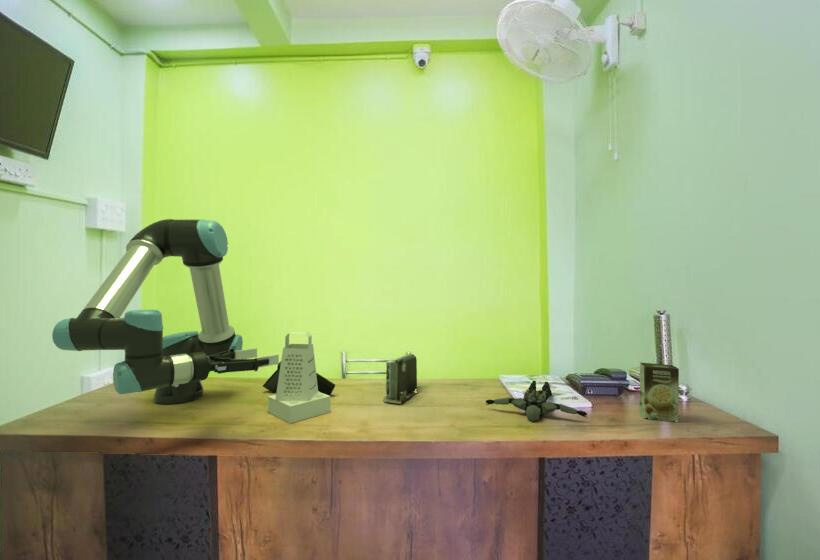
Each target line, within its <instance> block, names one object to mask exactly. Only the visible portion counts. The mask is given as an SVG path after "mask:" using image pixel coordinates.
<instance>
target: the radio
mask: <svg viewBox="0 0 820 560" xmlns="http://www.w3.org/2000/svg"><path fill="white" fill-rule="evenodd" d="M417 360H418V359H417V356H416V355H414V353H408V354H405V355H402V356H399V357H396V358H392V359H390V360H387V361H386V363H385V364H386V370H385V372H386V377H385V378H386V381H385V382H386V384H385V387H386V388H385V390H386V396H384V397H383V399H382V401H383V403H390V404H398V405H399V404H400V405H401V404H403V403H405V402H406V401H408V400H409V399H411V398H412V397H414V396H415V395H417V393H415V392H414V391H415V389H417V388H418V387H417V386H418V368H417V366H418V365H417V364H418V363H417V362H418V361H417ZM417 390H418V389H417Z"/></svg>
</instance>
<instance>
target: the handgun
mask: <svg viewBox="0 0 820 560" xmlns="http://www.w3.org/2000/svg"><path fill="white" fill-rule="evenodd" d="M286 360H287V359H286ZM286 360H285V361H286ZM280 366H281V360H280V361H279V364H277V369H276V370H275V371H274V372H273V374H272V375H271V376H270V377H269V378H268V379H267V380H266V381H265V382H264V384H263V385H262V387H263V388H264V389H266V390H268V391H269V392H270V393H272V394H276V392H277V386H278V379H279V372H280ZM316 376H317V385H318V392H321V393H323V394H326V395H329V396H331V395H332V393H333V391H334V389H335V387H336V384H335V383H334V382H332V381H331V380H329V379H328V378H326V377H324V376H323V375H320V374H319V373H318V372H316Z"/></svg>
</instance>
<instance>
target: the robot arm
mask: <svg viewBox="0 0 820 560" xmlns="http://www.w3.org/2000/svg"><path fill="white" fill-rule="evenodd" d="M228 245H229V242H228V237H227V233H226V231H225V228H224V227H223V226H222V225H221V223H220V222H218V221H216V220H209V219H202V218H201V219H173V218H166V219H161V220H158V221H155V222H153V223H151V224H148V225H147V226H145V227H143V229H141V230H140V231H138V232H137V233H135V234H134V236H133V237H132V238H131V239H130V240H129V242H128V243H127V244H126V246H125V251H126V252H125V253H124V255H123V256H122V258H121V259H120V260H119V261H118V263H117V264H116V266H114V268H113V269H112V270H111V272H110V273H109V275H108V276H107V277H106V279H105V280H104V281H103V282H102V284H101V285H100V286H99V288H98V289H97V290H96V292H94V294H93V295H92V297H91V298H90V300H89V301H88V303H86V305H85V306H84V308H83V309H82V310H81V311H80V313H79V314H78V315H77V317H70V318H64V319H62V320H60V321H58V322H57V323H56V324H55V325H54V327H53V330H52V333H51V334H52V335H51V337H52V342H53V344H54V345H55V346H56V347H57V348H58V349H60V350H63V351H75V352H83V351H114V350H115V351H123V350H124V360H123V361H120V362H116V363H115V364H114V366H113V373H112V374H113V375H112V381H113V386H114V390H115V392H116V393H117V394H119V395H125V394H126V395H127V394H133V393H142V392H148V391H151V390H155V392H154V394H153V395H154V396H153V402H154V404H158V405H159V404H161V405H174V404H182V403H183V404H184V403H187V402H191V401H195V400H198V399H200V398H202V397H203V396H204V386H203V384H202V382H201V381H205V380H206V379H208V378H209V374H210V372H214V373H217V374H220V375H221V374H225V373H236V372H238V373H239V372H249V371H254V372H258V370H259V368H264V367H269V366H274V365H278V364H279V363H280V361H279V357H280V355H279V354H270V355H265V356H264V355H263V356H258V348H257V347H254V348H247V349H243V345H244V344H243V336H242V335H241V334H239V333H237V334H236V331H235V328H234V327H233V326H231V325H230V323H229V315H228V313H227V306H226V305H227V304H226V300H225V299H226V298H225V293H224V287H223V281H222V275H221V269H220V264H221V263H222V262H223V261H224V257H226V256H227V253H228V250H229V249H228V248H229V247H228ZM168 257H178V258H179V257H181V259H182V264H183V265H184V267H186V268H189V272H190V276H191V282H192V288H193V291H194V296H195V297H194V298H195V302H196V306H197V312H198V313H197V314H198V317H199V322H200V328H201V330H200V332H199V331H198V330H192V331H184V332H177V333H173V334H168V335H165V336H163V334H164V333H163V332H164V331H163V330H164V325H163V315H162V312H161V311H160V310H158V309H132V310H131V309H130V310H128V311H126V309H127V308H128V306H129V304H130V303H131V301H132V300H133V299H134V296H135V295H136V294H137V292H138V290H139V289H140V287H141V286H142V284H143V283H144V281H145V280H146V278H147V276H148V275H149V274H150V272H151V271H152V269H153V267H154V266H157V265H159V264H160V263H161V262H162V261H163V259H165V258H168ZM125 311H126V312H125ZM124 312H125V313H124ZM123 314H124V317H122V315H123Z"/></svg>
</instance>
